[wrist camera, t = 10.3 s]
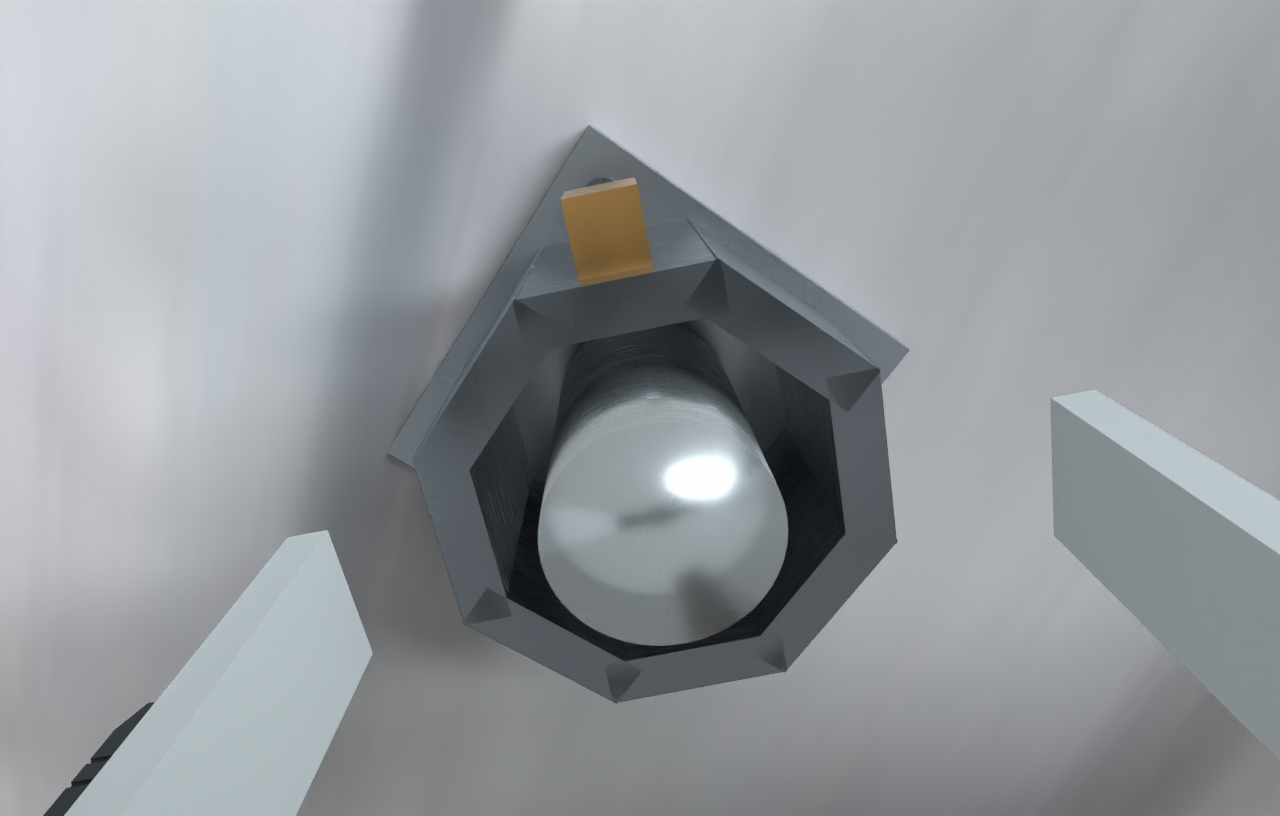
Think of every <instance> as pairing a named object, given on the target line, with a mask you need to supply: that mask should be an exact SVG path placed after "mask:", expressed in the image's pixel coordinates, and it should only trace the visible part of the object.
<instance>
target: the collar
mask: <svg viewBox="0 0 1280 816" xmlns="http://www.w3.org/2000/svg"><path fill="white" fill-rule="evenodd" d="M561 204H562V208H563V213H564V217H565V222H566V226H567V231H568V235H569V240H570V242H569V243H564V244H559V245H554V246H549V247H544V248H541V247H540V248H539V249H538V251H537V253H536V255H535V257H534V259H533V260H532V262H531V263H530V265H529V266H528V268H527V270H526V271H525V273H524V274H523V276H522V278H521V279H520V281H519V282H518V284H517V286H516V287H515V289H514V290H513V292H512V294H511V295H510V297H509V298H508V300H507V302H506V303H505V305H504V306H503V308H502V309H501V311H500V313H499V314H498V316H497V317H496V319H495V321H494V322H493V324H492V325H491V327H490V329H489V330H488V332H487V333H486V335H485V337H484V338H483V340H482V341H481V343H480V345H479V346H478V348H477V349H476V351H475V352H474V354H473V356H472V357H471V359H470V360H469V362H468V364H467V365H466V367H464V368H463V370H462V372H461V374H460V375H459V377H458V379H457V381H456V382H455V384H454V386H453V388H452V390H451V391H450V393H449V395H448V397H447V398H446V400H445V402H444V404H443V405H442V407H441V409H440V411H439V412H438V414H437V416H436V418H435V420H434V421H433V423H432V425H431V427H430V428H429V430H428V432H427V434H426V435H425V437H424V439H423V441H422V442H421V444H420V446H419V448H418V450H417V451H416V453H415V455H414V457H413V458H412V463H413V464H414V467H415V470H416V474H417V477H418V480H419V483H420V486H421V489H422V492H423V496H424V499H425V502H426V505H427V508H428V511H429V515H430V518H431V521H432V524H433V527H434V530H435V533H436V537H437V540H438V543H439V546H440V549H441V552H442V556H443V559H444V562H445V565H446V568H447V571H448V574H449V578H450V581H451V584H452V587H453V590H454V593H455V597H456V600H457V603H458V606H459V609H460V612H461V616H462V619H463V624H464V625H467V626H469V627H471V628H473V629H475V630H477V631H479V632H481V633H483V634H484V635H486V636H488V637H490V638H492V639H494V640H496V641H498V642H500V643H502V644H504V645H505V646H507V647H509V648H511V649H513V650H515V651H517V652H519V653H521V654H523V655H525V656H527V657H528V658H530V659H532V660H534V661H536V662H538V663H540V664H542V665H544V666H546V667H548V668H549V669H551V670H553V671H555V672H557V673H559V674H561V675H563V676H565V677H567V678H569V679H570V680H572V681H574V682H576V683H578V684H580V685H582V686H584V687H586V688H588V689H590V690H591V691H593V692H595V693H597V694H599V695H601V696H603V697H605V698H607V699H609V700H611V701H612V702H613V703H616V704H617V702H623V701H628V700H633V699H639V698H644V697H650V696H655V695H660V694H666V693H671V692H677V691H682V690H687V689H693V688H698V687H704V686H709V685H714V684H720V683H725V682H731V681H736V680H741V679H747V678H752V677H758V676H763V675H768V674H774V673H779V672H784V673H785V671H787V669H788V668H789V667H790V666H791V665H792V663H793V662H794V661H795V660H796V659H797V658H798V656H799V655H800V654H801V653H802V652H803V651H804V649H805V648H806V647H807V646H808V645H809V644H810V642H811V641H812V640H813V639H814V638H815V637H816V635H817V634H818V633H819V632H820V631H821V630H822V628H823V627H824V626H825V625H826V624H827V623H828V621H829V620H830V619H831V618H832V617H833V616H834V614H835V613H836V612H837V611H838V610H839V609H840V607H841V606H842V605H843V604H844V603H845V602H846V601H847V599H848V598H849V597H850V596H851V595H852V594H853V592H854V591H855V590H856V589H857V588H858V587H859V585H860V584H861V583H862V582H863V581H864V580H865V578H866V577H867V576H868V575H869V574H870V573H871V571H872V570H873V569H874V568H875V567H876V566H877V564H878V563H879V562H880V561H881V560H882V559H883V557H884V556H885V555H886V554H887V553H888V552H889V550H890V549H891V548H892V547H893V546H894V545H895V544H897V541H898V540H897V538H896V529H895V519H894V509H893V499H892V489H891V479H890V468H889V458H888V448H887V438H886V428H885V418H884V408H883V397H882V387H881V377H880V371H881V370H880V368H879V367H878V366H877V365H876V364H875V363H874V362H873V361H872V360H871V359H870V358H869V357H868V356H867V355H865V354H864V353H863V352H862V351H861V350H860V349H859V348H858V347H857V346H856V345H855V344H854V343H853V342H852V341H850V340H849V339H848V338H847V337H846V336H845V335H844V334H843V333H842V332H841V331H840V330H839V329H838V328H837V327H836V326H834V325H833V324H832V323H831V322H830V321H829V320H828V319H827V318H826V317H825V316H824V315H823V314H822V313H821V312H819V311H818V310H817V309H816V308H815V307H814V306H813V305H812V304H811V303H810V302H809V301H808V300H807V299H806V300H805V299H804V298H802V297H801V296H799V295H798V294H796V293H795V292H794V291H792V290H791V289H789V288H788V287H786V286H785V285H783V284H782V283H781V282H779V281H778V280H776V279H775V278H773V277H772V276H770V275H769V274H768V273H766V272H765V271H763V270H762V269H760V268H759V267H757V266H756V265H755V264H753V263H752V262H750V261H749V260H747V259H746V258H744V257H743V256H742V255H740V254H739V253H737V252H736V251H734V250H733V249H732V248H730V247H729V246H727V245H726V244H724V243H723V242H721V241H720V240H719V239H717V238H716V237H714V236H713V235H711V234H710V233H708V232H707V231H706V230H704V229H703V228H701V227H700V226H698V225H697V224H695V223H694V222H693V221H691V220H690V218H686V219H682V220H677V221H673V222H668V223H663V224H658V225H653V226H648V227H645V222H644V217H643V212H642V206H641V201H640V196H639V190H638V185H637V182H636V180H635V177H633V178H628V179H623V180H618V181H614V182H609V183H604V184H599V185H594V186H589V187H584V188H579V189H575V190H570V191H565V192H564V194H563V196H562V198H561ZM701 318H707V319H708V320H710V321H711V322H713V323H714V324H716V325H717V326H719V327H720V328H722V329H723V330H725V331H726V332H728V333H729V334H731V335H732V336H734V337H735V338H737V339H738V340H740V341H741V342H743V343H744V344H746V345H747V346H749V347H750V348H752V349H753V350H755V351H756V352H758V353H759V354H761V355H762V356H764V357H765V358H767V359H768V360H770V361H771V362H773V363H774V364H776V366H777V373H778V380H779V387H780V394H781V401H782V408H783V415H784V422H785V427H784V429H783V430H782V431H781V433H780V434H779V435H778V436H777V438H776V439H775V440H774V442H773V443H772V444H771V446H770V447H769V448H768V449H767V451H766V452H765V453H764V457H765V459H766V462H767V464H768V466H769V468H770V470H771V473H772V475H773V477H774V479H775V481H776V484H777V486H778V488H779V491H780V493H781V496H782V498H783V501H784V504H785V509H786V513H787V520H788V542H787V549H786V553H785V558H784V561H783V564H782V567H781V569H780V572H779V574H778V576H777V578H776V580H775V582H774V584H773V585H772V587H771V588H770V590H769V591H768V593H767V594H766V595H765V597H764V598H763V599H762V600H761V601H760V602H759V604H758V605H757V606H756V607H755V608H754V609H753V610H752V611H751V612H749V613H748V614H747V615H746V616H745V617H743V618H742V619H741V620H739V621H738V622H736V623H735V624H733V625H732V626H730V627H729V628H727V629H725V630H723V631H721V632H719V633H717V634H714V635H712V636H709V637H706V638H704V639H701V640H697V641H693V642H689V643H684V644H677V645H664V646H652V645H641V644H635V643H630V642H625V641H622V640H619V639H616V638H613V637H610V636H607V635H605V634H603V633H601V632H599V631H597V630H595V629H593V628H591V627H590V626H588V625H587V624H585V623H583V622H582V621H581V620H580V619H578V618H577V617H576V616H575V615H573V614H572V613H571V612H570V611H569V610H568V609H567V608H566V607H565V606H564V605H563V603H562V602H561V601H560V600H559V598H558V597H557V596H556V594H555V593H554V591H553V590H552V588H551V586H550V584H549V582H548V580H547V578H546V576H545V573H544V571H543V568H542V565H541V561H540V556H539V550H538V526H539V518H540V512H541V506H542V500H543V494H544V488H545V483H544V482H542V481H540V480H539V479H537V478H535V477H533V476H532V473H531V470H530V466H529V462H528V458H527V454H526V451H525V447H524V443H523V439H522V436H521V432H520V428H519V424H518V420H517V417H516V413H515V409H514V405H513V403H514V401H515V400H516V398H517V397H518V395H519V394H520V392H521V391H522V389H523V388H524V386H525V385H526V383H527V382H528V380H529V379H530V377H531V376H532V374H533V373H534V371H535V369H536V368H537V366H538V365H539V363H540V362H541V360H542V359H543V357H544V356H545V354H546V353H547V351H548V350H549V349H550V348H555V347H560V346H565V345H570V344H575V343H580V342H585V341H590V340H595V339H601V338H606V337H611V336H616V335H621V334H626V333H631V332H636V331H641V330H646V329H651V328H656V327H661V326H666V325H671V324H676V323H681V322H686V321H691V320H696V319H701Z"/></svg>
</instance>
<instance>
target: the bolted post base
mask: <svg viewBox="0 0 1280 816" xmlns="http://www.w3.org/2000/svg"><path fill="white" fill-rule="evenodd" d="M633 177H635V180H636V182H637V185H638V190H639V196H640V201H641V206H642V212H643V217H644V222H645V227H648V226H653V225H658V224H663V223H668V222H673V221H677V220H682V219H686V218H690V220H691V221H693V222H694V223H695V224H697V225H698V226H700V227H701V228H703V229H704V230H706V231H707V232H708V233H710V234H711V235H713V236H714V237H716V238H717V239H719V240H720V241H721V242H723V243H724V244H726V245H727V246H729V247H730V248H732V249H733V250H734V251H736V252H737V253H739V254H740V255H742V256H743V257H744V258H746V259H747V260H749V261H750V262H752V263H753V264H755V265H756V266H757V267H759V268H760V269H762V270H763V271H765V272H766V273H768V274H769V275H770V276H772V277H773V278H775V279H776V280H778V281H779V282H781V283H782V284H783V285H785V286H786V287H788V288H789V289H791V290H792V291H794V292H795V293H796V294H798V295H799V296H801V297H802V298H804V299H805V300H806V299H807V300H808V301H809V302H810V303H811V304H812V305H813V306H814V307H815V308H816V309H817V310H818V311H819V312H821V313H822V314H823V315H824V316H825V317H826V318H827V319H828V320H829V321H830V322H831V323H832V324H833V325H834V326H836V327H837V328H838V329H839V330H840V331H841V332H842V333H843V334H844V335H845V336H846V337H847V338H848V339H849V340H850V341H852V342H853V343H854V344H855V345H856V346H857V347H858V348H859V349H860V350H861V351H862V352H863V353H864V354H865V355H867V356H868V357H869V358H870V359H871V360H872V361H873V362H874V363H875V364H876V365H877V366H878V367H879V368H880V370H881V371H880V377H881V385H882V384H883V382H884V381H885V380H886V379H887V377H888V376H889V375H890V374H891V372H892V371H893V370H894V369H895V367H896V366H897V365H898V364H899V362H900V361H901V360H902V359H903V357H904V356H905V355H906V354H907V352H908V351H909V349H908V348H906V347H905V346H904V345H903V344H901V343H900V342H899V341H897V340H896V339H895V338H893V337H892V336H890V335H889V334H888V333H886V332H885V331H883V330H882V329H880V328H879V327H878V326H876V325H875V324H873V323H872V322H870V321H869V320H868V319H866V318H865V317H863V316H862V315H860V314H859V313H858V312H856V311H855V310H853V309H852V308H850V307H849V306H848V305H846V304H845V303H843V302H842V301H840V300H839V299H838V298H836V297H835V296H833V295H832V294H830V293H829V292H828V291H826V290H825V289H823V288H822V287H820V286H819V285H818V284H816V283H815V282H813V281H812V280H810V279H809V278H808V277H806V276H805V275H803V274H802V273H800V272H799V271H798V270H796V269H795V268H793V267H792V266H790V265H789V264H788V263H786V262H785V261H783V260H782V259H780V258H779V257H778V256H776V255H775V254H773V253H772V252H770V251H769V250H768V249H766V248H765V247H763V246H762V245H761V244H759V243H758V242H756V241H755V240H753V239H752V238H751V237H749V236H748V235H746V234H745V233H743V232H742V231H741V230H739V229H738V228H736V227H735V226H733V225H732V224H731V223H729V222H728V221H726V220H725V219H723V218H722V217H721V216H719V215H718V214H716V213H715V212H713V211H712V210H711V209H709V208H708V207H706V206H705V205H703V204H702V203H701V202H699V201H698V200H696V199H695V198H693V197H692V196H691V195H689V194H688V193H686V192H685V191H683V190H682V189H681V188H679V187H678V186H676V185H675V184H673V183H672V182H671V181H669V180H668V179H666V178H665V177H663V176H662V175H661V174H659V173H658V172H656V171H655V170H653V169H652V168H651V167H649V166H648V165H646V164H645V163H643V162H642V161H641V160H639V159H638V158H636V157H635V156H633V155H632V154H631V153H629V152H628V151H626V150H625V149H623V148H622V147H621V146H619V145H618V144H616V143H615V142H613V141H612V140H611V139H609V138H608V137H606V136H605V135H604V134H602V133H601V132H599V131H598V130H596V129H595V128H594V127H592V126H591V125H589V126H588V127H587V129H586V131H585V132H584V134H583V136H582V137H581V139H580V140H579V142H578V144H577V145H576V147H575V149H574V150H573V152H572V153H571V155H570V157H569V158H568V160H567V161H566V163H565V165H564V166H563V168H562V170H561V171H560V173H559V174H558V176H557V178H556V179H555V181H554V183H553V184H552V186H551V187H550V189H549V191H548V192H547V194H546V196H545V197H544V199H543V200H542V202H541V204H540V205H539V207H538V208H537V210H536V212H535V213H534V215H533V217H532V218H531V220H530V221H529V223H528V225H527V226H526V228H525V230H524V231H523V233H522V234H521V236H520V238H519V239H518V241H517V243H516V244H515V246H514V247H513V249H512V251H511V252H510V254H509V255H508V257H507V259H506V260H505V262H504V264H503V265H502V267H501V268H500V270H499V272H498V273H497V275H496V277H495V278H494V280H493V281H492V283H491V285H490V286H489V288H488V289H487V291H486V293H485V294H484V296H483V298H482V299H481V301H480V302H479V304H478V306H477V307H476V309H475V311H474V312H473V314H472V315H471V317H470V319H469V320H468V322H467V324H466V325H465V327H464V328H463V330H462V332H461V333H460V335H459V336H458V338H457V340H456V341H455V343H454V345H453V346H452V348H451V349H450V351H449V353H448V354H447V356H446V358H445V359H444V361H443V362H442V364H441V366H440V367H439V369H438V371H437V372H436V374H435V375H434V377H433V379H432V380H431V382H430V383H429V385H428V387H427V388H426V390H425V392H424V393H423V395H422V396H421V398H420V400H419V401H418V403H417V405H416V406H415V408H414V409H413V411H412V413H411V414H410V416H409V418H408V419H407V421H406V422H405V424H404V426H403V427H402V429H401V430H400V432H399V434H398V435H397V437H396V439H395V440H394V442H393V443H392V445H391V447H390V448H389V450H388V452H387V453H388V454H390V455H392V456H393V457H395V458H397V459H399V460H401V461H402V462H404V463H406V464H408V465H410V466H411V467H413V468H415V467H414V464H413V463H412V458H413V457H414V455H415V453H416V451H417V450H418V448H419V446H420V444H421V442H422V441H423V439H424V437H425V435H426V434H427V432H428V430H429V428H430V427H431V425H432V423H433V421H434V420H435V418H436V416H437V414H438V412H439V411H440V409H441V407H442V405H443V404H444V402H445V400H446V398H447V397H448V395H449V393H450V391H451V390H452V388H453V386H454V384H455V382H456V381H457V379H458V377H459V375H460V374H461V372H462V370H463V368H464V367H466V365H467V364H468V362H469V360H470V359H471V357H472V356H473V354H474V352H475V351H476V349H477V348H478V346H479V345H480V343H481V341H482V340H483V338H484V337H485V335H486V333H487V332H488V330H489V329H490V327H491V325H492V324H493V322H494V321H495V319H496V317H497V316H498V314H499V313H500V311H501V309H502V308H503V306H504V305H505V303H506V302H507V300H508V298H509V297H510V295H511V294H512V292H513V290H514V289H515V287H516V286H517V284H518V282H519V281H520V279H521V278H522V276H523V274H524V273H525V271H526V270H527V268H528V266H529V265H530V263H531V262H532V260H533V259H534V257H535V255H536V253H537V251H538V249H539V248H540V247H541V248H544V247H549V246H554V245H559V244H564V243H569V242H570V240H569V235H568V231H567V226H566V222H565V217H564V213H563V208H562V204H561V198H562V196H563V194H564V192H565V191H570V190H575V189H579V188H584V187H589V186H594V185H599V184H604V183H609V182H614V181H618V180H623V179H628V178H633ZM513 405H514V409H515V413H516V417H517V420H518V424H519V428H520V432H521V436H522V439H523V443H524V447H525V451H526V454H527V458H528V462H529V466H530V470H531V473H532V476H533V477H535V478H537V479H539V480H540V481H542V482H544V483H545V488H544V494H543V500H542V506H541V512H540V518H539V526H538V550H539V556H540V561H541V565H542V568H543V571H544V573H545V576H546V578H547V580H548V582H549V584H550V586H551V588H552V590H553V591H554V593H555V594H556V596H557V597H558V598H559V600H560V601H561V602H562V603H563V605H564V606H565V607H566V608H567V609H568V610H569V611H570V612H571V613H572V614H573V615H575V616H576V617H577V618H578V619H580V620H581V621H582V622H583V623H585V624H587V625H588V626H590V627H591V628H593V629H595V630H597V631H599V632H601V633H603V634H605V635H607V636H610V637H613V638H616V639H619V640H622V641H625V642H630V643H635V644H641V645H652V646H664V645H677V644H684V643H689V642H693V641H697V640H701V639H704V638H706V637H709V636H712V635H714V634H717V633H719V632H721V631H723V630H725V629H727V628H729V627H730V626H732V625H733V624H735V623H736V622H738V621H739V620H741V619H742V618H743V617H745V616H746V615H747V614H748V613H749V612H751V611H752V610H753V609H754V608H755V607H756V606H757V605H758V604H759V602H760V601H761V600H762V599H763V598H764V597H765V595H766V594H767V593H768V591H769V590H770V588H771V587H772V585H773V584H774V582H775V580H776V578H777V576H778V574H779V572H780V569H781V567H782V564H783V561H784V558H785V553H786V549H787V542H788V520H787V513H786V509H785V504H784V501H783V498H782V496H781V493H780V491H779V488H778V486H777V484H776V481H775V479H774V477H773V475H772V473H771V470H770V468H769V466H768V464H767V462H766V459H765V457H764V453H765V452H766V451H767V449H768V448H769V447H770V446H771V444H772V443H773V442H774V440H775V439H776V438H777V436H778V435H779V434H780V433H781V431H782V430H783V429H784V427H785V422H784V415H783V408H782V401H781V394H780V387H779V380H778V373H777V366H776V364H774V363H773V362H771V361H770V360H768V359H767V358H765V357H764V356H762V355H761V354H759V353H758V352H756V351H755V350H753V349H752V348H750V347H749V346H747V345H746V344H744V343H743V342H741V341H740V340H738V339H737V338H735V337H734V336H732V335H731V334H729V333H728V332H726V331H725V330H723V329H722V328H720V327H719V326H717V325H716V324H714V323H713V322H711V321H710V320H708V319H707V318H701V319H696V320H691V321H686V322H681V323H676V324H671V325H666V326H661V327H656V328H651V329H646V330H641V331H636V332H631V333H626V334H621V335H616V336H611V337H606V338H601V339H595V340H590V341H585V342H580V343H575V344H570V345H565V346H560V347H555V348H550V349H549V350H548V351H547V353H546V354H545V356H544V357H543V359H542V360H541V362H540V363H539V365H538V366H537V368H536V369H535V371H534V373H533V374H532V376H531V377H530V379H529V380H528V382H527V383H526V385H525V386H524V388H523V389H522V391H521V392H520V394H519V395H518V397H517V398H516V400H515V401H514V403H513Z"/></svg>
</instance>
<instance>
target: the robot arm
mask: <svg viewBox="0 0 1280 816" xmlns="http://www.w3.org/2000/svg"><path fill="white" fill-rule="evenodd" d="M1051 435H1052V475H1053V516H1054V536H1055V537H1056V538H1057V539H1058V540H1059V541H1060V542H1061V543H1062V544H1063V545H1064V546H1065V547H1066V548H1067V549H1068V550H1069V551H1070V552H1071V553H1072V554H1073V555H1074V556H1075V557H1076V558H1077V559H1078V560H1079V561H1080V562H1081V563H1082V564H1083V565H1084V566H1085V567H1086V568H1087V569H1088V570H1089V571H1090V572H1091V573H1092V574H1093V575H1094V576H1095V577H1096V578H1097V579H1098V580H1099V581H1100V582H1101V583H1102V584H1103V585H1104V586H1105V587H1106V588H1107V589H1108V590H1109V591H1110V592H1111V593H1112V594H1113V595H1114V596H1115V597H1116V598H1117V599H1118V600H1119V601H1120V602H1121V603H1122V604H1123V605H1124V606H1125V607H1126V608H1127V609H1128V610H1129V611H1130V612H1131V613H1132V614H1133V615H1134V616H1135V617H1136V618H1137V619H1138V620H1139V621H1140V622H1141V623H1142V624H1143V625H1144V626H1145V627H1146V628H1147V629H1148V630H1149V631H1150V632H1151V633H1152V634H1153V635H1154V636H1155V637H1156V638H1157V639H1158V640H1159V641H1160V642H1161V643H1162V644H1163V645H1164V646H1165V647H1166V648H1167V649H1168V650H1169V651H1170V652H1171V653H1172V654H1173V655H1174V656H1175V657H1176V658H1177V659H1178V660H1179V661H1180V662H1181V663H1182V664H1183V665H1184V666H1185V667H1186V668H1187V669H1188V670H1189V671H1190V672H1191V673H1192V674H1193V675H1194V676H1195V677H1196V678H1197V679H1198V680H1199V681H1200V682H1201V683H1202V684H1203V685H1204V686H1205V687H1206V688H1207V689H1208V690H1209V691H1210V692H1211V693H1212V694H1213V695H1214V696H1215V697H1216V698H1217V699H1218V700H1219V701H1220V702H1221V703H1222V704H1223V705H1224V706H1225V707H1226V708H1227V709H1228V710H1229V711H1230V712H1231V713H1232V714H1233V715H1234V716H1235V717H1236V718H1237V719H1238V720H1239V721H1240V722H1241V723H1242V724H1243V725H1244V726H1245V727H1246V728H1247V729H1248V730H1249V731H1250V732H1251V733H1252V734H1253V735H1254V736H1255V737H1256V738H1257V739H1258V740H1259V741H1260V742H1261V743H1262V744H1263V745H1264V746H1265V747H1266V748H1267V749H1268V750H1269V751H1270V753H1271V754H1272V755H1273V756H1274V757H1275V758H1276V759H1277V760H1278V761H1279V762H1280V500H1278V499H1276V498H1275V497H1273V496H1271V495H1270V494H1268V493H1266V492H1265V491H1263V490H1261V489H1260V488H1258V487H1256V486H1255V485H1253V484H1251V483H1250V482H1248V481H1246V480H1245V479H1243V478H1241V477H1240V476H1238V475H1236V474H1235V473H1233V472H1231V471H1230V470H1228V469H1226V468H1225V467H1223V466H1221V465H1220V464H1218V463H1216V462H1215V461H1213V460H1211V459H1210V458H1208V457H1206V456H1205V455H1203V454H1201V453H1200V452H1198V451H1196V450H1195V449H1193V448H1191V447H1190V446H1188V445H1186V444H1185V443H1183V442H1181V441H1180V440H1178V439H1176V438H1175V437H1173V436H1171V435H1170V434H1168V433H1166V432H1165V431H1163V430H1161V429H1160V428H1158V427H1156V426H1155V425H1153V424H1152V423H1150V422H1148V421H1147V420H1145V419H1143V418H1142V417H1140V416H1138V415H1137V414H1135V413H1133V412H1132V411H1130V410H1128V409H1127V408H1125V407H1123V406H1122V405H1120V404H1118V403H1117V402H1115V401H1113V400H1112V399H1110V398H1108V397H1107V396H1105V395H1103V394H1102V393H1100V392H1098V391H1097V390H1090V391H1084V392H1079V393H1073V394H1068V395H1063V396H1057V397H1052V398H1051ZM372 654H373V652H372V650H371V647H370V644H369V641H368V639H367V636H366V633H365V630H364V628H363V625H362V622H361V620H360V617H359V614H358V611H357V609H356V606H355V603H354V601H353V598H352V595H351V592H350V590H349V587H348V584H347V581H346V579H345V576H344V573H343V571H342V568H341V565H340V562H339V560H338V557H337V554H336V552H335V549H334V546H333V543H332V541H331V538H330V535H329V532H328V530H324V531H319V532H314V533H308V534H303V535H297V536H292V537H287V539H286V540H285V541H284V542H283V544H282V545H281V546H280V547H279V549H278V550H277V551H276V552H275V553H274V555H273V556H272V557H271V558H270V560H269V561H268V562H267V563H266V565H265V566H264V567H263V568H262V570H261V571H260V572H259V573H258V575H257V576H256V577H255V578H254V580H253V581H252V582H251V583H250V585H249V586H248V587H247V588H246V590H245V591H244V592H243V593H242V595H241V596H240V597H239V598H238V600H237V601H236V602H235V603H234V605H233V606H232V607H231V608H230V610H229V611H228V612H227V613H226V615H225V616H224V617H223V618H222V620H221V621H220V622H219V623H218V624H217V626H216V627H215V628H214V629H213V631H212V632H211V633H210V634H209V636H208V637H207V638H206V639H205V641H204V642H203V643H202V644H201V646H200V647H199V648H198V649H197V651H196V652H195V653H194V654H193V656H192V657H191V658H190V659H189V661H188V662H187V663H186V664H185V666H184V667H183V668H182V669H181V671H180V672H179V673H178V674H177V676H176V677H175V678H174V679H173V681H172V682H171V683H170V684H169V686H168V687H167V688H166V689H165V691H164V692H163V693H162V694H161V696H160V697H159V698H158V699H157V700H156V702H153V703H148V704H147V705H145V706H144V707H143V708H142V709H140V710H139V711H138V712H137V713H135V714H134V715H133V716H132V717H130V718H129V719H128V720H127V721H125V722H124V723H123V724H122V725H120V726H119V727H118V728H117V729H115V730H114V731H113V733H112V734H111V735H110V736H109V737H108V739H107V740H106V741H105V742H104V743H103V745H102V746H101V747H100V748H99V749H98V751H97V752H96V753H95V754H94V755H93V757H92V758H91V764H86V765H85V766H84V767H83V769H82V770H81V771H80V772H79V773H78V775H77V776H76V777H75V778H74V779H73V781H72V782H71V783H72V786H71V788H66V789H65V790H64V791H63V793H62V794H61V795H60V796H59V797H58V799H57V800H56V801H55V802H54V803H53V805H52V806H51V807H50V808H49V810H48V811H47V812H46V813H45V814H44V816H296V815H297V813H298V811H299V808H300V806H301V804H302V802H303V800H304V798H305V796H306V794H307V792H308V790H309V787H310V785H311V783H312V781H313V779H314V777H315V775H316V773H317V771H318V768H319V766H320V764H321V762H322V760H323V758H324V756H325V754H326V752H327V749H328V747H329V745H330V743H331V741H332V739H333V737H334V735H335V733H336V730H337V728H338V726H339V724H340V722H341V720H342V718H343V716H344V714H345V711H346V709H347V707H348V705H349V703H350V701H351V699H352V697H353V695H354V692H355V690H356V688H357V686H358V684H359V682H360V680H361V678H362V676H363V673H364V671H365V669H366V667H367V665H368V663H369V661H370V659H371V657H372Z"/></svg>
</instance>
